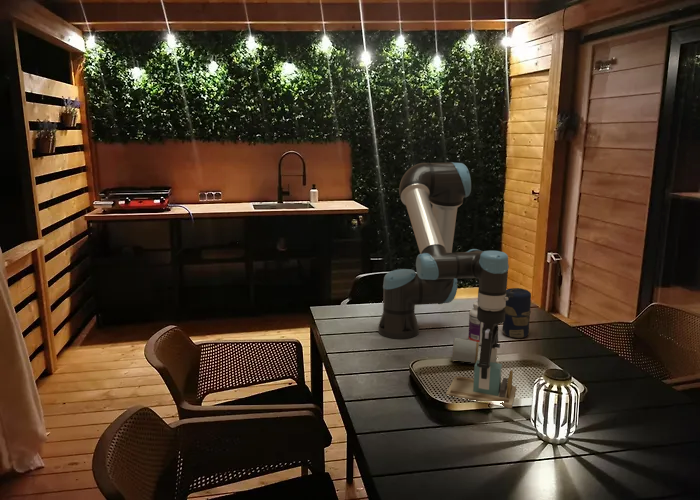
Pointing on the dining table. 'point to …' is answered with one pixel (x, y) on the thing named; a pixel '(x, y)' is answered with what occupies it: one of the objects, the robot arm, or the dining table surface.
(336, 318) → the dining table surface
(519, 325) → the canister
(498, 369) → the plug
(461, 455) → the dining table surface
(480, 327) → the pill bottle
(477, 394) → the wooden tray
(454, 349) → the grey rectangular block
